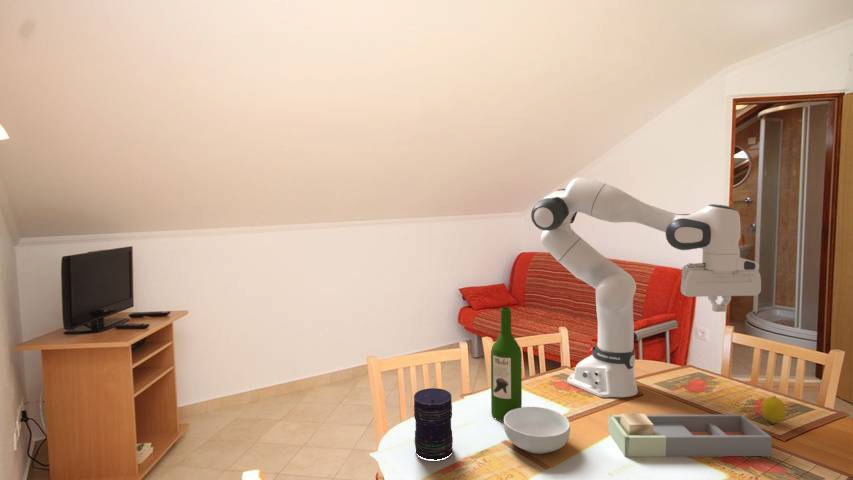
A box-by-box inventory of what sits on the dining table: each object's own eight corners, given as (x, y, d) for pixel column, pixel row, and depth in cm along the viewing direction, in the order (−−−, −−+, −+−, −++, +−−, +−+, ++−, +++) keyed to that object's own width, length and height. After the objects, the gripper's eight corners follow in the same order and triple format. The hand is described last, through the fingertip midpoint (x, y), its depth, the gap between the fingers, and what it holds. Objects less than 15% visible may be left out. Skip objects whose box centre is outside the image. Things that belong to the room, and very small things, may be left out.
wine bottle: (488, 419, 140) (486, 311, 136) (495, 406, 148) (494, 303, 144) (518, 424, 136) (518, 313, 133) (524, 410, 144) (524, 305, 141)
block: (629, 439, 121) (629, 424, 121) (620, 427, 127) (620, 413, 127) (653, 439, 121) (653, 424, 120) (643, 427, 127) (643, 413, 126)
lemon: (789, 429, 130) (790, 401, 129) (766, 427, 131) (768, 399, 130) (778, 419, 135) (780, 392, 135) (757, 418, 137) (758, 391, 136)
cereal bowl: (581, 444, 125) (581, 418, 124) (550, 472, 113) (550, 444, 112) (525, 423, 137) (525, 400, 136) (491, 447, 125) (491, 421, 124)
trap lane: (624, 456, 119) (625, 437, 118) (608, 432, 131) (608, 414, 130) (770, 456, 117) (772, 437, 117) (740, 431, 129) (741, 414, 129)
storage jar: (416, 441, 128) (414, 388, 127) (452, 441, 128) (451, 387, 126) (413, 462, 118) (412, 404, 117) (453, 462, 118) (452, 404, 117)
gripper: (687, 265, 130) (686, 314, 132) (765, 263, 129) (763, 313, 130) (676, 261, 137) (676, 309, 138) (751, 260, 135) (749, 308, 137)
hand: (719, 311), depth 134 cm, fingers closed
